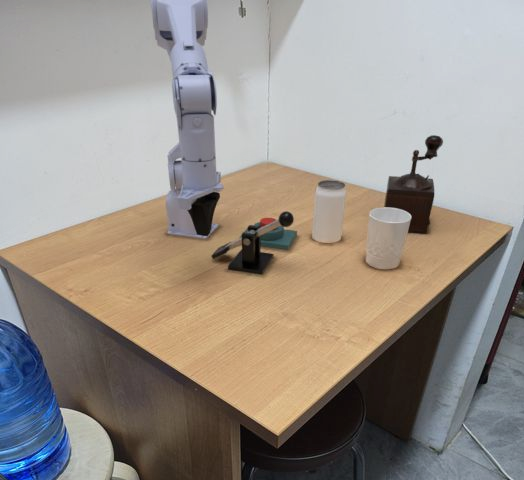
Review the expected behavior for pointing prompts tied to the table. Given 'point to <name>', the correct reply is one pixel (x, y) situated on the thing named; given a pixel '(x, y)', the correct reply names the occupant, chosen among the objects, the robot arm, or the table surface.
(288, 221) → the lever
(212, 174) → the robot arm
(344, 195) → the can
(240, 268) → the bracket
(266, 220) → the button
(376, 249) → the white cup
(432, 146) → the brown coffee grinder
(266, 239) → the button block
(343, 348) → the table surface
